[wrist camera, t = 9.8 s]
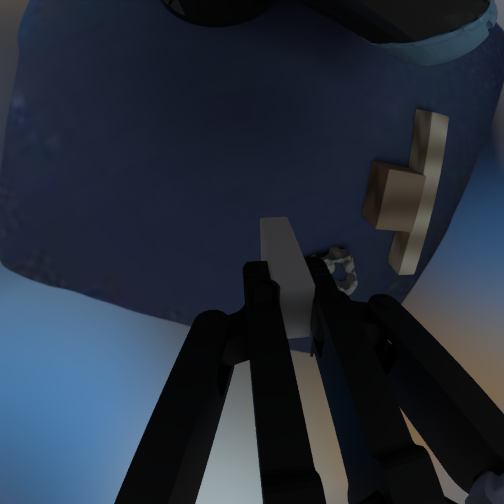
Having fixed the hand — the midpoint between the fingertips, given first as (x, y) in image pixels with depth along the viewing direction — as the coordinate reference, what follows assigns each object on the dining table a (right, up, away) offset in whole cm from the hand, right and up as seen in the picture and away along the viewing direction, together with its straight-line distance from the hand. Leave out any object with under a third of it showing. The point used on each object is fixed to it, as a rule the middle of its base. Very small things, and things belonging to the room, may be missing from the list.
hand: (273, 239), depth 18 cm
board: (+22, +8, +22) cm, 32 cm away
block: (+18, +8, +22) cm, 29 cm away
